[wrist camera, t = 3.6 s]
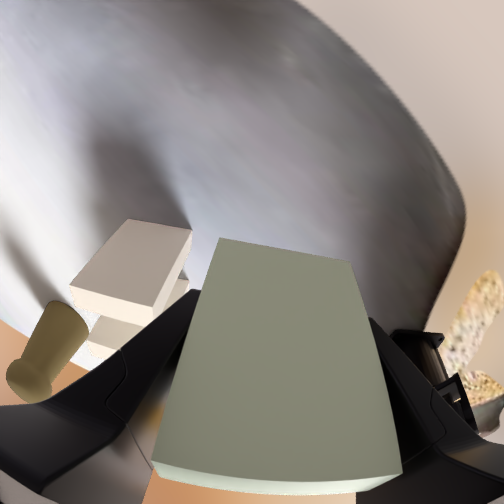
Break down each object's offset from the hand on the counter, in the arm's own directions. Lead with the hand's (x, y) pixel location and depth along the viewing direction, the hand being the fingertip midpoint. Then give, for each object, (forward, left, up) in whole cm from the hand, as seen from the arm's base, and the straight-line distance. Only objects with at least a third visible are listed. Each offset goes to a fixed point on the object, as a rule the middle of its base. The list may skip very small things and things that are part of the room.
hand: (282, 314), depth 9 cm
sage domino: (0, 0, -3) cm, 3 cm away
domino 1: (+8, +5, -11) cm, 14 cm away
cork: (+20, +18, -11) cm, 29 cm away
